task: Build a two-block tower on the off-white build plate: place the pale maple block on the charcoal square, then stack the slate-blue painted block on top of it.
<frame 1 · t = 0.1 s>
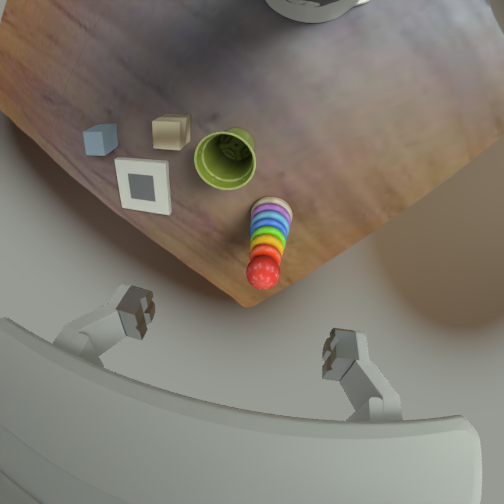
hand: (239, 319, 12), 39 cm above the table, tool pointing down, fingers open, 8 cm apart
stacking toy: (272, 212, 54), on the table
plant pot: (236, 143, 46), on the table
build plate: (144, 184, 54), on the table
maple block: (177, 127, 45), on the table
slate blue block: (107, 134, 47), on the table
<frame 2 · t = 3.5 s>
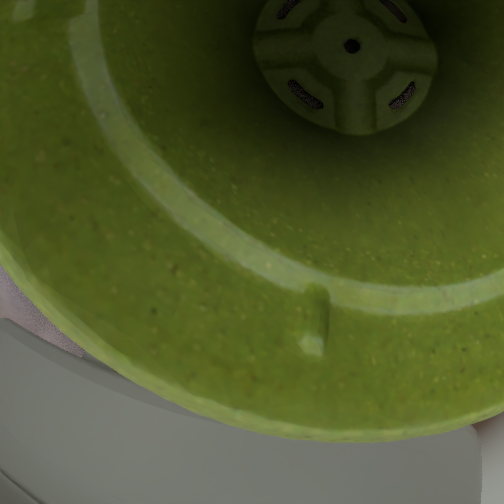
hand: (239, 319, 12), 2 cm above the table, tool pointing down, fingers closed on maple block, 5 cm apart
plant pot: (346, 50, 7), on the table
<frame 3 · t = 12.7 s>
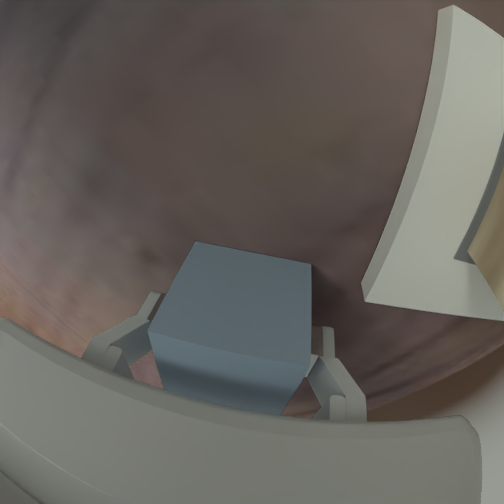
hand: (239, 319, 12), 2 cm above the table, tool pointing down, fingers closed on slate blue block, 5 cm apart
slate blue block: (245, 294, 13), on the table, touching gripper
when the fingers open (9 cm above the table, at t = 17.5 s): slate blue block stays where it is, resting on maple block.
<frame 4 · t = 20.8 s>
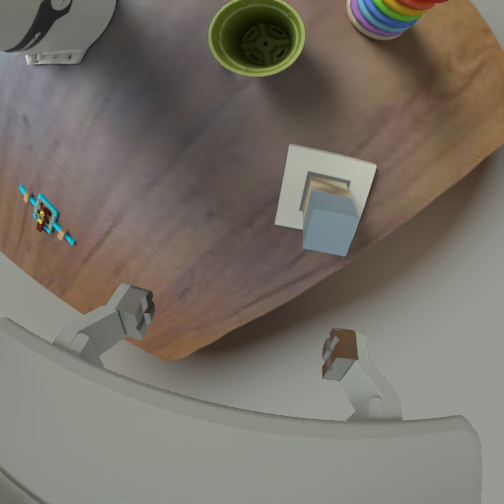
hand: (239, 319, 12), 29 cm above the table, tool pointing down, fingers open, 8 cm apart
gear mechanism: (47, 213, 49), on the table
stacking toy: (375, 15, 22), on the table
plant pot: (265, 44, 28), on the table
build plate: (323, 192, 38), on the table
maple block: (324, 195, 37), point 1 cm above the table, touching build plate, slate blue block
slate blue block: (326, 212, 33), point 6 cm above the table, touching maple block
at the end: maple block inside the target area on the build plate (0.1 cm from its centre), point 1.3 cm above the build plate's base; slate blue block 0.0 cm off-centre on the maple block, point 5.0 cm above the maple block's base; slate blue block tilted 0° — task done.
